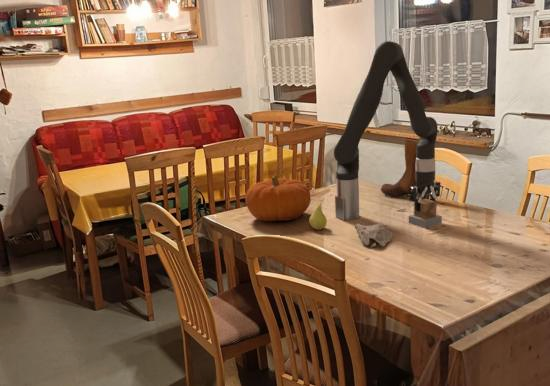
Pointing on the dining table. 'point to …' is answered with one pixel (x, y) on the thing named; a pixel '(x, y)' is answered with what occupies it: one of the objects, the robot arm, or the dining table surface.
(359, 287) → the dining table surface
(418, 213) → the walnut cube
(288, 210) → the pumpkin
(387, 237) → the stone
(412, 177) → the boot
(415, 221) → the slate block
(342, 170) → the robot arm
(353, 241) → the dining table surface
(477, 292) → the dining table surface
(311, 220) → the fruit
